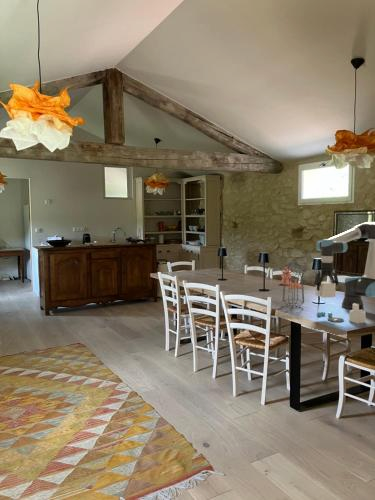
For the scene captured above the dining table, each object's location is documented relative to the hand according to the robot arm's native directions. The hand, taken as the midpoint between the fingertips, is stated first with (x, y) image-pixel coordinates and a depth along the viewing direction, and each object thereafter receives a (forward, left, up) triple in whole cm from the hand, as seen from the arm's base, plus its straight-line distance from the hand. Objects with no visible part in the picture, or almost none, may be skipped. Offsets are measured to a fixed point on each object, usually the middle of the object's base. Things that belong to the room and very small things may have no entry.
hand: (326, 295), depth 263 cm
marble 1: (+2, -3, -14) cm, 15 cm away
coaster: (-3, +8, -16) cm, 18 cm away
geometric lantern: (+6, -35, -16) cm, 38 cm away
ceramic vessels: (-34, -115, -16) cm, 121 cm away
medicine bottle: (-14, +14, -16) cm, 25 cm away
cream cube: (0, -1, -1) cm, 1 cm away
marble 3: (-5, -1, -13) cm, 14 cm away
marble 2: (-2, -4, -14) cm, 15 cm away
